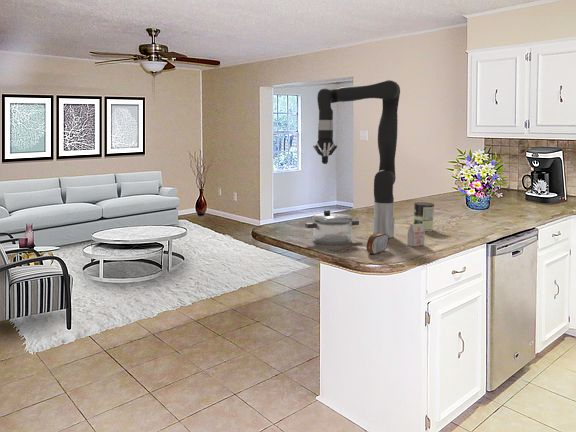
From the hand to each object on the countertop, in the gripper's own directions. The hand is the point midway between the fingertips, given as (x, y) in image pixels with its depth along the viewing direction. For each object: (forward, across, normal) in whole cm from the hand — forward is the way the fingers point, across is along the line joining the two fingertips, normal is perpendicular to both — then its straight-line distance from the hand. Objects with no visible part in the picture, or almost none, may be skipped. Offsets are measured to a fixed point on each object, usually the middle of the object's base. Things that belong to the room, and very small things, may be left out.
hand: (324, 163), depth 260 cm
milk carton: (+35, +26, -44) cm, 62 cm away
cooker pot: (+35, -6, -22) cm, 42 cm away
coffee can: (+35, +52, -14) cm, 64 cm away
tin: (+35, +2, -50) cm, 61 cm away
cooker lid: (+25, -6, -22) cm, 34 cm away
